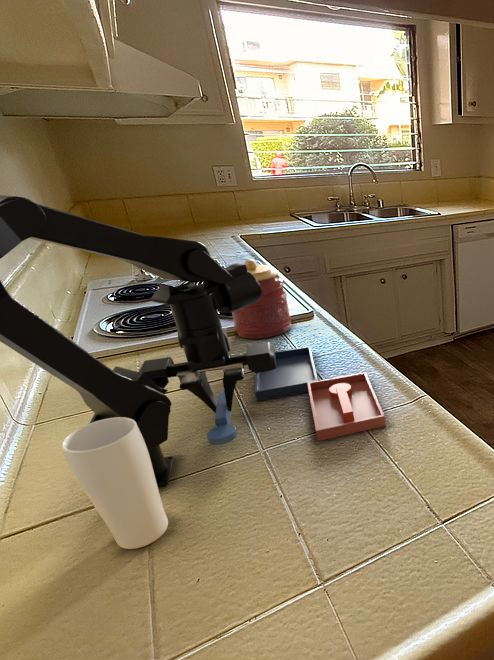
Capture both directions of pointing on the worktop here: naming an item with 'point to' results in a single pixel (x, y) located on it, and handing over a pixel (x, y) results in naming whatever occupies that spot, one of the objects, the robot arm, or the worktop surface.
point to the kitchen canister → (264, 306)
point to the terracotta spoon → (343, 400)
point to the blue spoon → (222, 424)
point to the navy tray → (287, 374)
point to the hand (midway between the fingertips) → (224, 411)
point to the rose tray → (330, 413)
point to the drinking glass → (118, 479)
